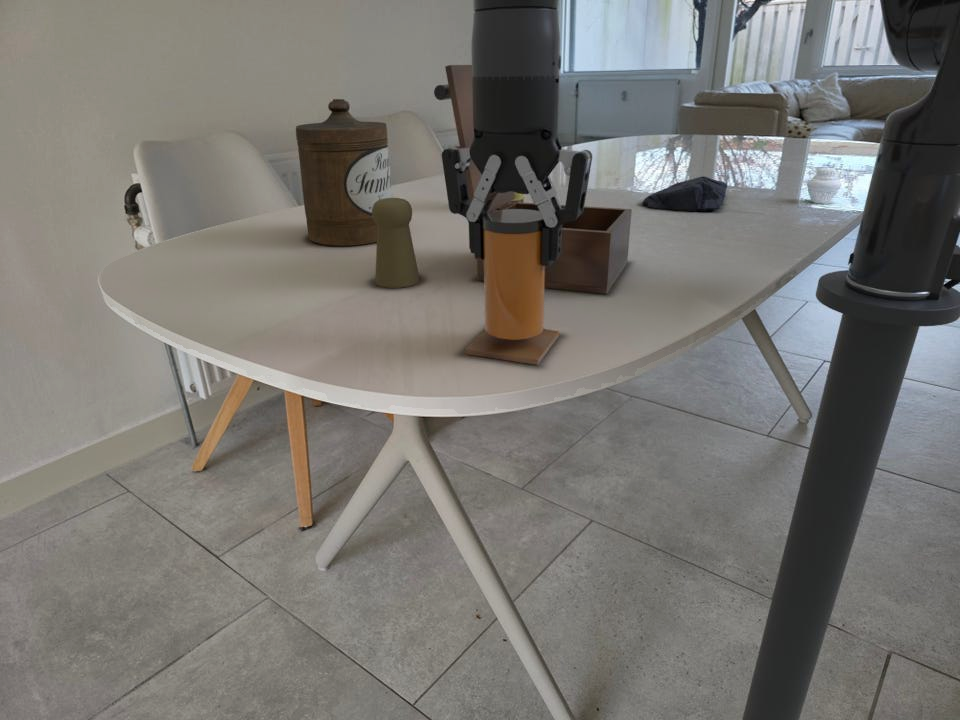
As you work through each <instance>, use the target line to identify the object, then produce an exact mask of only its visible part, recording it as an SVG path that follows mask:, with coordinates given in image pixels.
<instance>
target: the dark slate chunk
mask: <svg viewBox="0 0 960 720" xmlns="http://www.w3.org/2000/svg"><path fill="white" fill-rule="evenodd" d="M727 188H728V183H726V182H724V181H721V180H717V179H713V178H711V177H708V176H704V175H703V176H698V177H695V178H691V179H688V180H683V181H679V182H677V183H674V184H671V185H669V187H666V188H663V189H661V190H658V191H656V192H653V193H651V194H649V195H648V196H646V197H645V198H644V199H643V201H642V205H644V206H647V208H649V209H659V210H661V209H662V210H670V211H681V212H682V211H683V212H709V211H710V212H715V211H717V210H719V209H720V208H721V205H723V202H724V200H725V197H726V194H727V193H726V192H727Z"/></svg>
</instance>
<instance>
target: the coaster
mask: <svg viewBox="0 0 960 720" xmlns="http://www.w3.org/2000/svg"><path fill="white" fill-rule="evenodd" d="M559 337H560V331H559V330H552V329H546V328H544V330H543V331H542V333H540V334H539V335H537V336H535V337H531V338H527V339H518V340H511V339H502V338H497V337H494V336H492V335H490V334H488V333H487V332H486V330H485V329H484V330H483V331H482V332H481V333H480V334H479V335H478V336H477V337H476V338H475V339H474V340H472V342H471V343H470V344H469V345H468V346H467V347H466V348H465V355H469V356H476V357H482V358H490V359H496V360H502V361H509V362H515V363H521V364H522V363H523V364H527V365H534V366H539V364H540V363H541V361H542V360H543V358H544V357H545V356H546V355H547V353H548V352H549V351H550V349H551V348H552V346H553V345H554V344H555V342H556V341H557V340H558V338H559Z"/></svg>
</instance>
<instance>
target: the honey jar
mask: <svg viewBox="0 0 960 720" xmlns="http://www.w3.org/2000/svg"><path fill="white" fill-rule="evenodd" d="M544 226H546V224H545V222H544V220H543V217H542V215H541V213H540V211H535V210H527V209H505V210H500V209H496V210H494V211H491V212H488V213H485V214H484V215H483V216H482V227H483V248H484V281H483V288H484V289H483V292H484V293H483V294H484V295H483V297H484V330H486V332H487V333H488V334H490V335H492V336H494V337H497V338H502V339H511V340H518V339H527V338H531V337H535V336H537V335H539V334H540V333H542V331H543V330H544V329H545V299H546V298H545V297H546V296H545V293H546V292H545V291H546V288H545V266H542V228H543V227H544Z"/></svg>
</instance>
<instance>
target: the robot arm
mask: <svg viewBox="0 0 960 720" xmlns="http://www.w3.org/2000/svg"><path fill="white" fill-rule="evenodd" d="M472 1H473V2H472V5H473V21H472V31H471V46H470V48H471V65H472V97H473V128H474V139H473V142H472V144H471V146H470V147H465V148H461V147H460V145H456V146H452V147H448V148H445V149H443V151H442V152H441V161H442V168H443V175H444V182H445V189H446V196H447V197H446V198H447V205H448V209H449V211H450V213H451V214H454V215H457V214H458V215H460V216H462V217H464V218H465V219H466V220H467V222H468V247H469V251H470V253H471V254H474V260H477V259H479V260H483V259H484V248H483V227H482V216H483V215H484V214H485V213H487V212H488V210H489V208H490V206H491V204H492V201H493V199H494V198H495V197H496V195H497V194H498V193H505V192H510V191H513V192H516V193H519V194H524V195H529V196H530V198H531V199H532V200H531V201H532V203H534V204H535V205H536V206H537V207H538V209H539V211H540V213H541V215H542V217H543V220H544V222H545V224H546V226H544V227H543V228H542V266H551V265H552V264H553V263H554V261H555V260H556V259H557V258H558V257H559V256H560V254H561V243H562V242H561V241H562V225H563V224H564V223H567V222H573V221H575V220H576V219H577V218H578V217H579V216H581V215H582V214H583V211H584V206H586V197H587V192H588V185H589V180H590V173H591V167H592V163H593V162H592V161H593V153H592V152H591V151H590V150H589V149H583V150H579V151H578V150H572V149H566V148H563V147H562V145H561V143H560V141H559V136H558V128H559V96H560V95H559V94H560V71H561V68H562V67H561V66H562V56H561V31H560V24H559V23H560V21H559V10H558V9H559V0H472ZM879 2H880V4H879V5H880V9H881V16H882V20H883V21H882V22H883V27H884V32H885V36H886V37H885V38H886V42H887V45H888V49H889V51H890V54H891V56H892V58H893V59H894V61H895V63H897V64H898V66H899V67H901V69H904V70H906V71H908V72H913V73H924V74H925V73H927V74H936V75H935V77H934V80H933V82H932V85H931V87H930V89H929V90H928V92H927V93H926V94H925V95H924V96H923V97H921V98H920V99H919V100H918V101H916V102H914V103H912V104H910V105H908V106H906V107H902V108H899V109H896V110H894V111H892V112H891V113H890V114H889V115H888V116H887V117H886V119H885V122H884V124H883V125H884V126H883V128H882V133H881V136H880V137H881V139H880V142H879V146H878V150H877V154H876V158H875V162H874V166H873V169H872V170H873V171H872V174H871V178H870V182H869V187H868V191H867V194H866V198H865V199H866V200H865V203H864V207H863V211H862V215H861V220H860V224H859V228H858V231H857V236H856V239H855V244H854V248H853V252H852V253H849V259H848V262H847V265H848V270H849V272H848V274H847V277H846V281H845V284H846V286H847V287H849V288H850V289H852V290H854V291H857V292H859V293H862V294H865V295H869V296H873V297H878V298H883V299H890V300H900V301H920V300H939V298H940V294H941V291H942V288H943V286H944V287H945V288H947V289H948V290H949V289H950V288H954V287H955V286H957V285H959V284H960V246H959V245H958V240H959V237H960V0H879ZM471 159H472V161H473V162H474V164H475V165H476V167H477V168H478V170H479V171H480V173H481V174H482V177H481V179H480V181H479V183H478V185H477V188H476V190H475V192H474V195H473V196H474V198H473V200H472V201H470V197H469V189H468V181H467V174H466V170H467V169H468V168H469V166H470V160H471ZM558 163H561V164H562V166H563V173H564V174H565V175H566V176H567V177H569V178H568V185H567V192H566V199H565V204H564V205H565V207H564V208H561V205H562V204H561V203H560V201H559V199H558V196H557V195H558V194H557V193H558V192H557V190H556V188H555V186H554V184H553V181H552V179H551V177H550V175H551V174H552V172H553V171H554V169H555V168H556V167H557V165H558ZM946 280H949V281H947V282H945V281H946Z"/></svg>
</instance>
